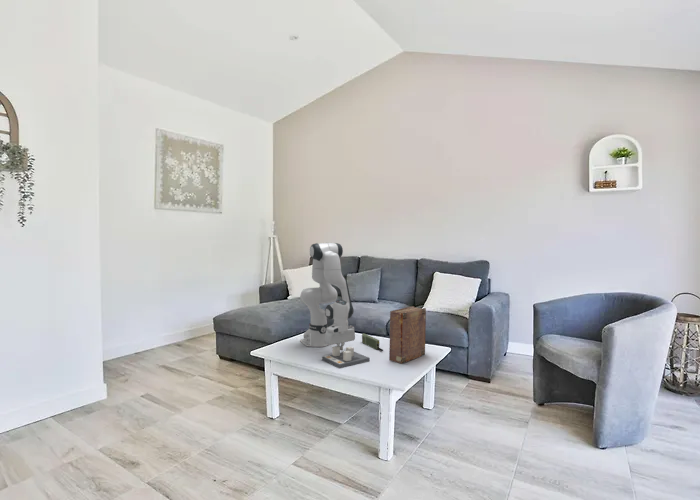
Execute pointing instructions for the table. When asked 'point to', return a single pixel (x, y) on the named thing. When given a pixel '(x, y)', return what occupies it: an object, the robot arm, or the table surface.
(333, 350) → the tab inner
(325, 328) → the robot arm
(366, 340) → the handheld radio
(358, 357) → the switch panel
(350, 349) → the tab middle
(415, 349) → the book
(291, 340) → the table surface
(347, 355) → the block
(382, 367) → the table surface
